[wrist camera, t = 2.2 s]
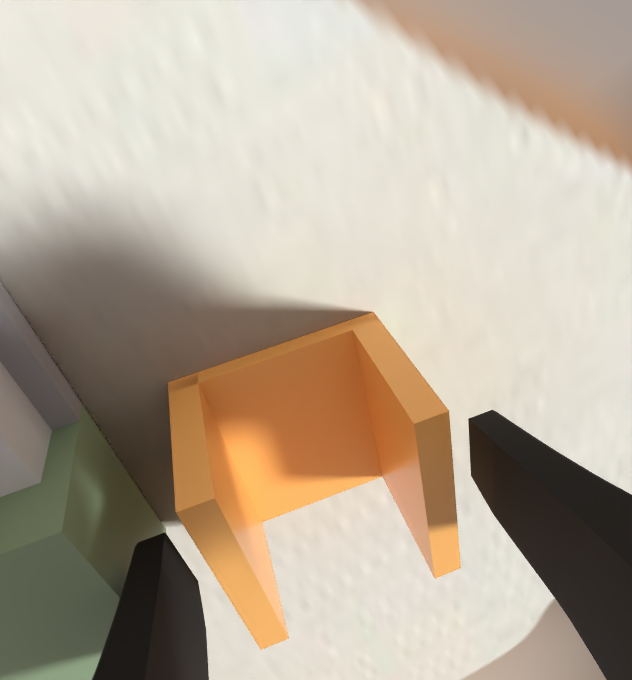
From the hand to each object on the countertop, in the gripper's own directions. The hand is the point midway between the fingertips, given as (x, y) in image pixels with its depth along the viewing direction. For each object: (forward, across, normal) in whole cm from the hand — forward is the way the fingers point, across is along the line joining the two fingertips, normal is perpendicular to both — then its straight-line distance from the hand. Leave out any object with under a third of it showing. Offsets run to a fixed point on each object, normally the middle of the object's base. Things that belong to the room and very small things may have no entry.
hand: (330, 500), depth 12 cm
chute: (+3, 0, 0) cm, 3 cm away
